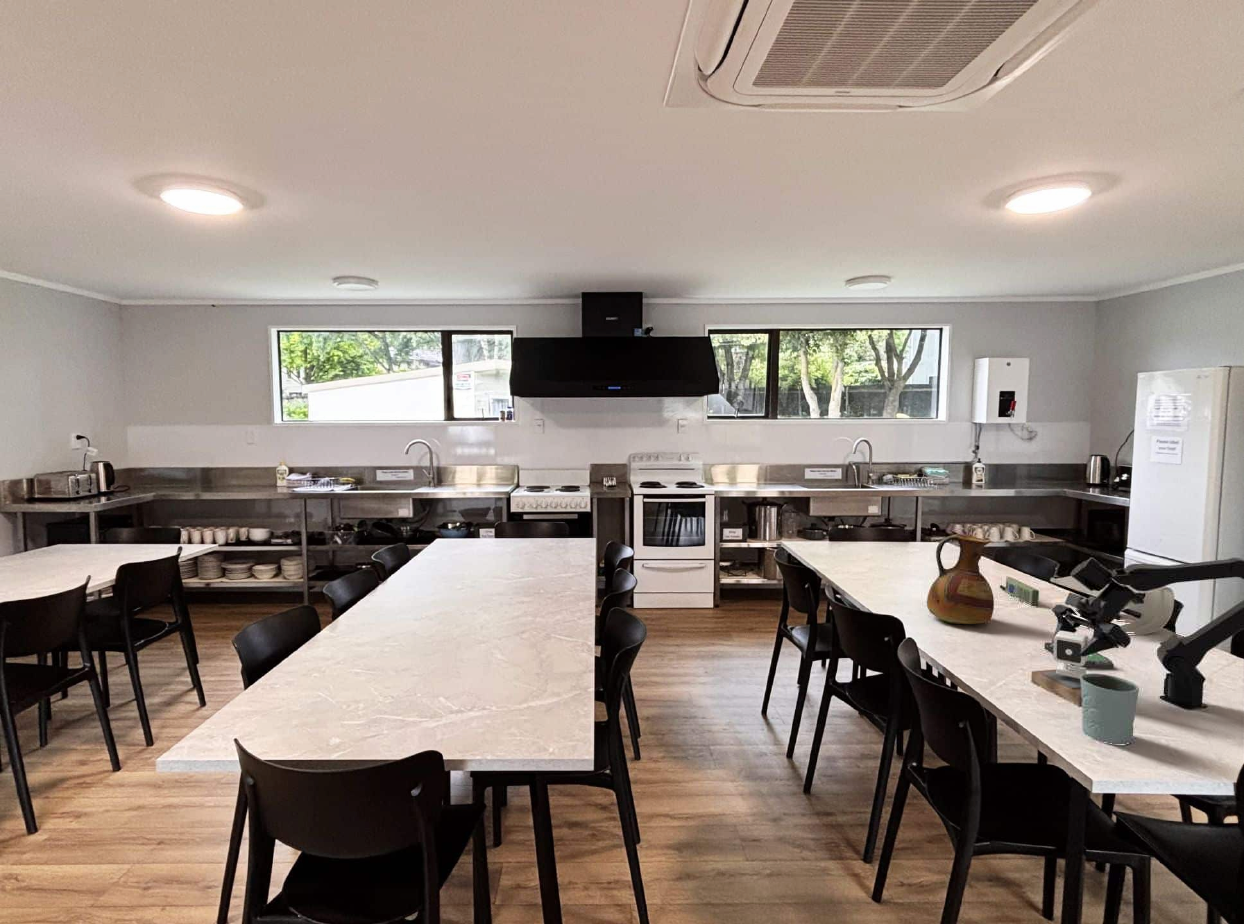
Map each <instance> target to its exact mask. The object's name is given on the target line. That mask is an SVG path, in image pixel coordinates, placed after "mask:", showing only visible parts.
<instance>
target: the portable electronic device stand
mask: <svg viewBox="0 0 1244 924" xmlns="http://www.w3.org/2000/svg"><path fill="white" fill-rule="evenodd" d="M1049 581H1050V582H1052V583H1054V584H1056V585H1059V586H1060V585H1061V586H1062V587H1066V588H1069V589H1072V590H1075V591H1077V592H1080V593H1084V594H1087V595H1090V596H1092V597H1095V598H1096V597H1097V596H1098V595H1099V594H1100V593H1101V592H1102V591H1103V590H1104V589H1105V588H1106V587H1107V586H1108V585H1109V584H1108V585H1107V586H1106V587H1105V588H1103V589H1102V590H1100V591H1096V590H1093V591H1090V590H1089V589H1087V588H1086V587H1085V586H1083V585H1082V584H1081V583H1080V582H1078V581H1077V580H1076V579H1074V578H1073V577H1072V576H1069V575H1068V576H1064V577H1058V578H1054V577H1050V579H1049ZM1114 581H1115V580H1114ZM1115 582H1116V581H1115ZM1118 584H1119V583H1118ZM1120 585H1122V584H1120ZM1126 586H1127V587H1128V588H1130V589H1131V590H1132V591H1134V592H1135V593H1142V594H1145V596H1144V598H1143V597H1142V598H1143V600H1144V603H1143V604H1134V603H1133V602H1132V601H1131V602H1130V603H1129V604H1128V605H1127V606H1126V607H1125V608H1124V609H1123V610H1122V611H1121V613H1122V612H1123V611H1125V610H1130V611H1134V612H1136V613H1139V614H1141V616H1140V618H1138V619H1137V620H1132V619H1128V618H1121V619H1120V620H1125V621H1117V622H1125V623H1130V624H1125V625H1122V626H1120V627H1121V628H1122V629H1123V630H1124V631H1125V632H1134V633H1127V634H1135V635H1134V636H1144V635H1149V634H1152V633H1154V632H1157V631H1159V630H1161V629H1163V628H1164V627H1165V626H1166V625H1167V623H1168V622H1169V621H1170V619H1171V617H1172V615H1173V614H1172V613H1173V612H1174V606H1175V593H1174V591H1173V589H1172V588H1171V587H1167V586H1164V587H1161V588H1157V589H1153V590H1149V591H1137V590H1135V589H1133V588H1131V587H1130V586H1128V585H1126ZM1088 630H1090V628H1089V629H1088Z"/></svg>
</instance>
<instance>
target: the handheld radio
mask: <svg viewBox="0 0 1244 924" xmlns="http://www.w3.org/2000/svg"><path fill="white" fill-rule="evenodd" d="M999 589H1001V590H1003V591H1005V592H1006V593H1008V594H1010V595H1012V596H1013V597H1012V596H1011V597H1012V598H1014V597H1016V598H1018V599H1019V600H1018V599H1017V600H1018V601H1020V600H1022V601H1023V602H1025V603H1026V605H1027V604H1029V605H1031V606H1037V605H1038V606H1039V599H1040V598H1039V596H1040V591H1039V590H1038V589H1037V588H1035V587H1032V586H1031V585H1028V584H1026V583H1023V582H1021V581H1019V580H1017V579H1015V578H1013V577H1010V576H1006V579H1005V586H1004V585H1003V584H1001V585H999ZM1005 592H1004V593H1005ZM1006 593H1005V594H1006ZM1008 594H1007V595H1008ZM1010 595H1009V596H1010ZM1016 598H1015V599H1016ZM1023 602H1022V603H1023ZM1025 603H1024V604H1025ZM1029 605H1028V606H1029ZM1031 606H1030V607H1031Z"/></svg>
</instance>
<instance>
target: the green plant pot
mask: <svg viewBox="0 0 1244 924" xmlns="http://www.w3.org/2000/svg"><path fill="white" fill-rule="evenodd" d="M1080 680H1081V691H1082V695H1081V697H1082V706H1081V713H1082V715H1081V724H1082V725H1081V727H1082V732H1083V731H1084V732H1083V733H1084V734H1085V735H1086V734H1087V735H1088V737H1089V736H1090V737H1092V738H1094V739H1096V740H1095V741H1097V740H1099V741H1098V742H1100V741H1102V742H1101V743H1103V742H1107V743H1112V744H1127V743H1131V744H1132V743H1133V735H1134V723H1135V722H1134V721H1135V716H1136V715H1135V712H1136V710H1137V703H1138V699H1139V691H1140V687H1139V685H1137V684H1135V683H1133V681H1129V680H1127V679H1125V678H1121V677H1119V676H1113V675H1109V674H1102V673H1086V674H1084V675H1082V676H1081V677H1080ZM1087 735H1086V736H1087ZM1090 737H1089V738H1090ZM1092 738H1091V739H1092ZM1094 739H1093V740H1094Z"/></svg>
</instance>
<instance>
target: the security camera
mask: <svg viewBox="0 0 1244 924" xmlns="http://www.w3.org/2000/svg"><path fill="white" fill-rule="evenodd" d="M1088 642H1089V636H1088V635H1087V634H1082V633H1077V632H1075V633H1072V632H1066V631H1059V632H1058V633H1057V635H1056V636H1055V637H1054V653H1053V654H1052V656H1053V660H1054V661H1056V662H1058V663H1059V664H1058V666H1057V667H1056V669H1057V671H1056V673H1057V674H1061V675H1065V676H1070V677H1075V678H1079V679H1080V677H1081V676H1082V675H1084V674H1087V669H1086V668H1083V667H1078V666H1083V665H1084V664H1085V662H1086V660H1087V659H1088V655H1087V656H1084V657H1082V656H1081V655H1080V654H1079V653H1080V652H1081V650H1082V649H1083V647H1085V645H1086V644H1087V643H1088ZM1069 664H1073V665H1075V666H1074V667H1073V666H1072V665H1069Z"/></svg>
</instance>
